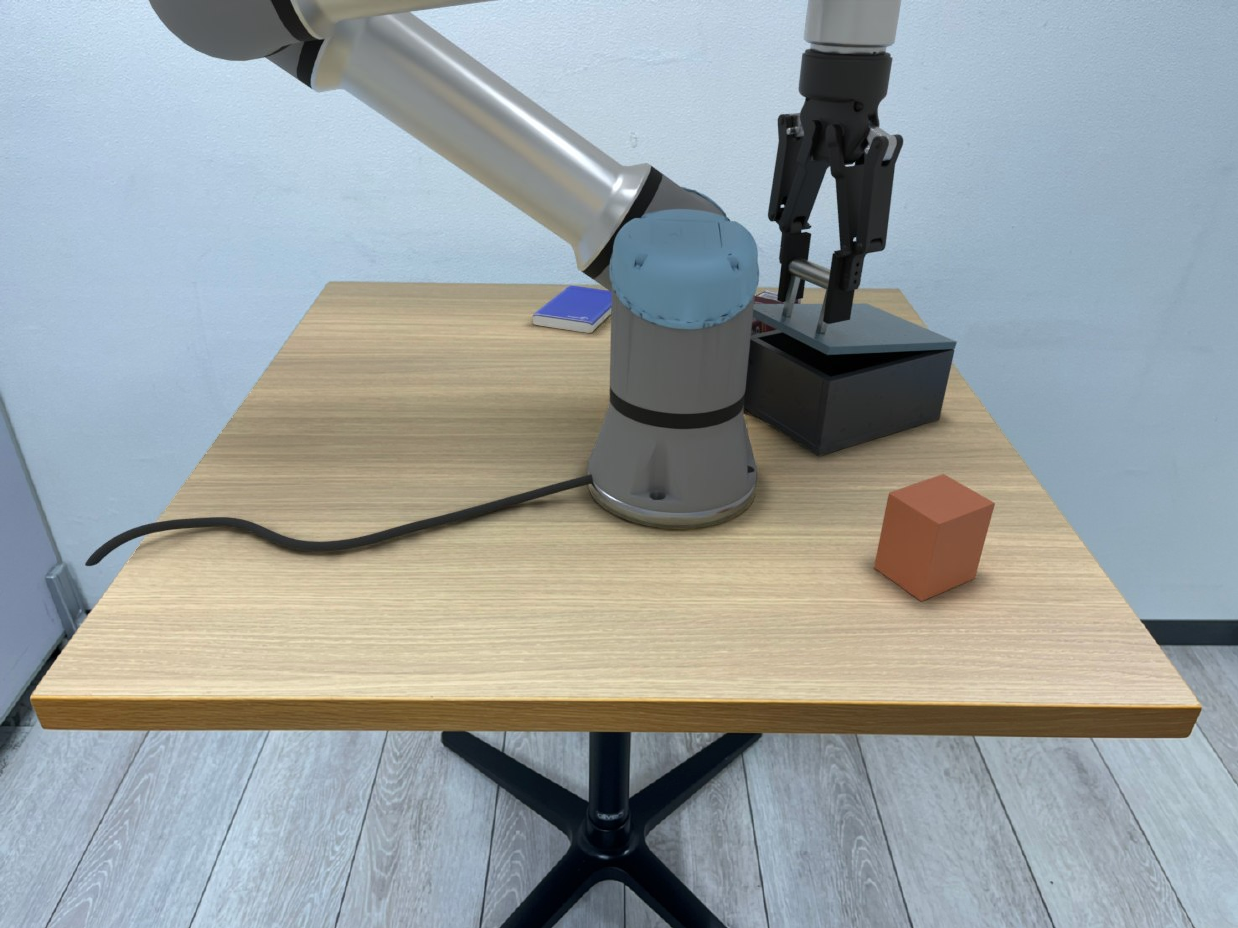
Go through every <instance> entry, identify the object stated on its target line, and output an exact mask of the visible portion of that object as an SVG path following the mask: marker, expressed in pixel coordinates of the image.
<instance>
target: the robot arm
mask: <svg viewBox="0 0 1238 928" xmlns="http://www.w3.org/2000/svg"><path fill="white" fill-rule="evenodd" d="M495 1H497V0H148V2H149V4H150V6H151V8H152V10H153V11H154V14H156V16H157V17H158V19H159V20H160V21H161V22H162V23H163V25H164V26H165V28H167V30H168V31H170V32H171V33H172V34H173V35H174V36H175V37H176V38H177V39H179V40H180V41H181V42H182V43H184V44H185V45H186V46H188V47H190V48H191V49H193V50H195V51H196V52H198V53H201V54H204V55H206V56H208V57H211V58H215V59H220V60H224V61H229V62H247V61H253V60H259V59H263V58H265V59H267V60H268V61H269V62H271V63H273V64H274V65H276V66H277V67H279V68H280V69H282V70H283V71H284V72H286V73H287V74H288V75H290V76H292V77H294V79H296V80H297V81H299V82H300V83H302V84H303V85H305V86H306V87H308V88H309V89H311V90H313V91H314V92H315V93H325V92H330V91H336V90H344V91H345V92H347V93H348V94H350V95H351V96H353V97H354V98H356V99H357V100H359V101H360V102H361V103H363V104H364V105H366V106H367V107H369V108H370V109H371V110H373V111H375V112H376V113H378V114H379V115H381V117H384V118H385V119H386V120H388V121H389V122H391V123H392V124H394V125H395V126H396V127H398V128H400V129H401V130H403V131H404V132H405V133H406V134H408V135H409V136H411V137H412V138H414V139H415V140H417V141H419V143H421V144H422V145H424V146H426V147H427V148H428V149H430V150H432V151H433V152H434V153H436V154H438V155H439V156H440V157H442V158H443V159H445V160H446V161H448V162H449V163H451V164H452V165H453V166H455V167H457V169H459V170H461V172H464V173H465V174H467V175H468V176H469V177H471V178H472V179H474V180H475V181H477V182H478V183H480V184H481V185H483V186H484V187H485V188H487V189H489V190H490V191H491V192H493V193H494V194H496V195H497V196H499V197H500V198H502V199H503V200H505V201H506V202H507V203H509V204H510V205H512V206H513V207H515V208H516V209H517V210H519V211H521V212H522V213H524V214H525V215H526V216H528V217H530V218H531V219H532V220H534V221H535V222H536V223H538V224H540V225H541V226H542V227H544V228H546V229H547V230H548V231H550V232H552V233H553V234H554V235H556V236H557V237H559V238H560V239H561V240H563V241H565V242H566V243H567V244H568V245H570V246H571V248H572V250H573V253H574V257H575V262H576V268H577V270H578V271H580V272H581V273H583V274H584V275H586V276H587V277H589V278H590V279H591V280H593V281H595V282H596V283H597V284H599V285H600V286H601V287H603V288H605V290H608V291H611V292H612V295H611V314H610V348H609V349H610V350H609V351H610V352H609V355H610V356H609V400H608V401H609V403H608V408H607V410H606V413H605V416H604V419H603V421H602V422H601V423H602V424H601V426H600V429H599V432H598V435H597V438H596V441H595V443H594V447H593V449H592V451H591V452H590V454H589V459H588V464H587V475H583V476H579V477H576V478H572V479H568V480H564V481H559V482H557V483H553V484H550V485H547V486H543V487H539V488H536V489H532V490H529V491H525V492H522V493H518V494H514V495H511V496H507V497H504V498H500V499H497V500H493V501H490V502H486V503H482V504H479V505H475V506H472V507H468V508H465V509H461V510H457V511H453V512H449V513H445V514H440V515H437V516H433V517H430V518H425V519H421V520H417V521H413V522H409V523H406V524H402V525H398V526H395V527H390V528H388V529H385V530H380V531H377V532H374V533H371V534H366V535H361V536H357V537H352V538H346V539H338V540H337V539H336V540H325V541H322V540H321V541H316V540H315V541H314V540H301V539H297V538H296V539H295V538H293V537H288V536H285V535H282V534H280V533H279V532H278V533H277V532H276V531H273V530H271V529H269V528H267V527H264V526H262V525H260V524H258V523H255V522H253V521H249V520H246V519H243V518H237V517H228V516H209V517H193V518H190V517H189V518H179V519H178V518H177V519H169V520H162V521H156V522H150V523H147V524H141V525H139V526H136V527H133V528H130V529H128V530H125V531H123V532H121V533H119V534H118V535H116V536H114V537H112V538H111V539H109V540H108V541H106V542H105V543H103V544H102V545H101V546H99V547H98V548H97V549H96V550H94V552H93V553H91V554H90V555H89V557H88V559H87V560H86V561H85V564H84V565H85V566H86V567H93V566H96V565H98V564H100V562H102V560H103V559H104V558H106V557H107V556H108V555H109V554H110V553H111V552H113V551H114V550H117V549H118V548H119V547H121V546H123V545H124V544H126V543H128V542H129V541H130V542H131V541H133V540H135V539H137V538H140V537H144V536H146V535H151V534H156V533H161V532H167V531H174V530H185V529H198V528H232V529H239V530H243V531H246V532H249V533H251V534H254V535H256V536H259V537H261V538H263V539H265V540H267V541H270V542H271V543H274V544H277V545H279V546H281V547H284V548H288V549H292V550H296V551H301V552H335V551H336V552H337V551H345V550H351V549H357V548H362V547H366V546H370V545H374V544H378V543H381V542H384V541H388V540H392V539H395V538H399V537H402V536H405V535H408V534H412V533H416V532H420V531H424V530H428V529H432V528H435V527H436V528H437V527H439V526H443V525H444V526H445V525H448V524H451V523H455V522H459V521H464V520H467V519H470V518H474V517H477V516H481V515H484V514H488V513H491V512H494V511H498V510H502V509H505V508H509V507H511V506H516V505H519V504H523V503H527V502H529V501H533V500H538V499H541V498H543V497H546V496H550V495H554V494H558V493H562V492H564V491H568V490H572V489H577V488H580V487H584V486H587V487H588V491H589V492H590V494H591V497H592V498H593V499H594V501H596V502H597V504H598V505H600V507H602V508H603V509H605V510H606V511H607V512H609V513H612V514H613V515H615V516H617V517H619V518H621V519H624V520H626V521H628V522H632V523H634V524H639V525H643V526H647V527H651V528H652V527H653V528H659V529H660V528H661V529H669V530H670V529H672V530H679V529H680V530H684V529H685V530H687V529H698V528H704V527H710V526H714V525H717V524H721V523H724V522H727V521H730V520H731V519H734V518H736V517H738V516H739V515H741V514H742V513H743V512H745V511H746V510H747V509H748V508H749V507H750V506H751V504H752V503H753V501H754V499H755V496H756V491H757V482H758V470H757V467H758V466H757V462H756V459H755V456H754V455H755V454H754V449H753V446H752V442H751V439H750V435H749V431H748V427H747V423H746V417H745V415H744V397H745V389H746V378H747V368H748V358H749V348H750V337H751V327H752V317H753V307H754V296H756V293H757V289H758V286H759V282H760V268H759V267H760V266H759V259H758V258H759V250H758V244H757V243H756V240H755V238H754V236H753V235H752V233H751V232H750V231H749V230H748V229H747V228H746V227H745V226H744V225H742V224H741V223H739V222H738V221H735V220H731V219H730V218H729V217H727V214H726V212H725V211H724V209H722V207H721V206H720V205H719V204H718V203H717V202H716V201H714V200H713V199H711V197H709V196H707V195H706V194H704V193H703V192H700V191H697V190H696V189H692V188H688V187H686V186H681V185H679V184H678V183H676V182H675V181H674V180H672V179H671V178H670V177H668V176H667V175H665V174H664V173H663V172H661V171H659V169H657V168H655V167H654V166H652V164H650V163H648V162H643V163H639V164H632V165H623V164H620V163H619V162H618V161H617V160H615V158H613V157H611V156H610V155H608V154H607V153H606V152H604V151H603V150H602V149H601V148H599V147H598V146H596V145H594V143H592V142H590V141H589V140H588V139H586V138H585V137H584V136H583V135H581V134H580V133H578V132H577V131H575V130H574V129H573V128H571V127H570V126H569V125H567V124H566V123H565V122H563V121H562V120H560V119H559V118H557V117H556V116H555V115H553V114H552V113H551V112H549V111H548V110H547V109H545V108H544V107H542V106H541V105H540V104H538V103H537V102H535V101H534V100H533V99H531V98H530V97H529V96H527V95H525V94H524V93H523V92H522V91H520V90H519V89H517V88H516V87H514V86H513V85H512V84H510V83H509V82H507V81H506V80H505V79H503V78H502V77H501V76H500V75H498V74H497V73H495V72H494V71H493V70H491V69H490V68H488V67H487V66H485V64H482V63H481V62H480V61H479V60H477V59H476V58H474V57H473V56H472V55H470V54H469V53H468V52H466V51H465V50H464V49H462V48H461V47H459V46H458V45H456V44H455V43H454V42H452V41H451V40H450V39H448V38H447V37H446V36H444V35H443V34H441V33H440V32H439V31H437V30H436V29H434V28H433V27H431V25H429V24H427V23H426V22H425V21H424V20H422V19H420V18H419V17H418V16H417V15H416V14H414V13H412V12H419V11H426V10H434V9H435V10H436V9H440V8H441V9H442V8H449V7H458V6H465V5H472V4H480V3H481V4H482V3H487V2H495ZM901 4H902V0H807V8H806V15H805V23H804V31H803V41H805V43H808V44H809V48H807V49H805V50H804V52H803V53H801V62H800V69H799V70H800V71H799V79H798V88H797V89H798V93H799V94H800V95H801V97H803V98H805V99H804V102H803V105H802V107H801V109H800V112H795V113H780V114H779V115H778V117H777V135H778V143H777V150H776V156H775V162H774V170H773V177H772V182H771V190H770V197H769V204H768V210H767V219H768V220H769V221H770V222H772V223H773V222H774V223H776V224H777V225H778V229H779V231H780V233H781V236H780V246H779V253H778V261H779V264H780V271H779V281H778V289H777V293H778V297H777V300H778V301H780V302H785V299H786V295H787V291H788V286H789V282H790V278H791V274H790V273H789V272H788V264H789V262H790V261H791V259H792V258H794V257H800V258H803V259H805V260H808V261H809V255H810V249H811V248H810V247H811V240H812V233H811V232H809V231H805V230H810V229H812V225H811V223H809V220H810V217H811V214H812V211H813V208H814V206H815V203H816V200H817V197H818V195H819V192H820V189H821V187H822V183H823V181H824V178H825V176H826V172H827V170H828V169H829V170H830V175H831V177H832V178H834V180H835V194H836V195H835V196H836V204H837V205H836V207H837V222H838V234H839V235H838V237H839V249H838V250H833V253H832V256H831V262H830V268H829V269H830V276H829V283H828V290H827V297H826V304H825V311H824V318H823V322H825V323H827V324H832V323H837V322H841V321H846V320H850V317H851V310H852V304H853V303H854V297H855V291H856V290H858V289H859V287H860V286H861V282H862V275H863V268H864V262H865V258H866V256H867V254H872V253H878V252H883V251H884V250H885V248H886V246H887V238H888V229H889V221H890V212H891V205H892V204H891V203H892V195H893V188H894V179H895V178H894V177H895V171H896V163H897V161H898V158H899V155H900V153H901V151H902V148H903V146H904V137H903V136H902V135H901V134H900V133H897V134H890V133H888V132H887V131H885V130H884V129H882V128H881V127H880V118H879V106H880V103H881V102H882V101H883V100H884V99H885V98H886V97H887V95H888V90H889V84H890V78H891V73H892V72H891V70H892V65H893V60H894V59H893V57H892V56H891V53H890V52H888V51H887V47H888V48H889V47H892V46H893V45H894V44H895V41H896V35H897V31H898V30H897V29H898V24H899V17H900V12H901V11H900V10H901V6H902V5H901ZM782 206H783V207H782ZM854 239H855V240H854ZM805 286H806V281H805V280H803V279H800V282H799V286H798V290H797V295H796V299H795V300H797V299H801V300H802V299H804V295H805Z"/></svg>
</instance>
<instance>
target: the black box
mask: <svg viewBox="0 0 1238 928" xmlns="http://www.w3.org/2000/svg"><path fill="white" fill-rule="evenodd" d="M955 351H956V349H943V350H922V351H901V352H880V353H859V354H838V355H826V354H824V353H822V352H820V351H818V350H816V349H815V348H813V347H811V346H809V345H807V344H805V343H803V342H801V341H799V340H797V339H795V338H793V337H791V336H789V335H787V334H785V333H783V332H781V331H779V330H774V331H769V332H764V333H760V334H755V335H751V337H750V348H749V358H748V368H747V378H746V389H745V397H744V408H743V410H744V411H747V412H748V413H750V414H752V415H753V416H755V417H757V418H758V419H760V420H761V421H763V422H764V423H766V424H767V425H769V426H771V427H772V428H774V429H775V430H776V431H779V432H780V433H781V434H784V435H785V436H787V438H790V439H791V440H792V441H794V442H796V443H798V444H799V445H801V446H802V447H804V448H806V449H807V450H809V451H811V452H812V453H813V454H815V455H817V456H818V457H821V456H823V455H827V454H830V453H834V452H837V451H841V450H843V449H846V448H850V447H853V446H856V445H859V444H863V443H866V442H869V441H873V440H876V439H879V438H882V437H885V436H889V435H892V434H896V433H899V432H902V431H906V430H909V429H912V428H915V427H919V426H921V425H925V424H929V423H932V422H935V421H939V420H940V419H941V414H942V409H943V406H944V401H945V396H946V391H947V387H948V382H949V377H950V373H951V369H952V364H953V361H954V354H955Z"/></svg>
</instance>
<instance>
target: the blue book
mask: <svg viewBox="0 0 1238 928" xmlns="http://www.w3.org/2000/svg"><path fill="white" fill-rule="evenodd" d="M611 295H612V292H611V291H609V290H608V289H601V288H600V289H599V288H593V287H586V286H580V285H579V286H578V285H568V286H567V287H566V288H565V289H564V290H563V291H560V292H559V293H558V294H557V295H556V296H555V297H553V298H551V300H549V301H548V302H547V303H546V304H544V305H543V306H542V307H541V308H539V309H538V310H536V312H533V314H532V324H534V325H536V326H541V327H548V328H552V329H560V330H567V331H571V332H572V331H573V332H579V333H585V334H591V333H593V332H594V331H595V330H596V329H597V328H598V327H599V326H600V325H601V324H602V323H603V322H604V321H605V320H606V319H607V318H608V317H609V316H611Z"/></svg>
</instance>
